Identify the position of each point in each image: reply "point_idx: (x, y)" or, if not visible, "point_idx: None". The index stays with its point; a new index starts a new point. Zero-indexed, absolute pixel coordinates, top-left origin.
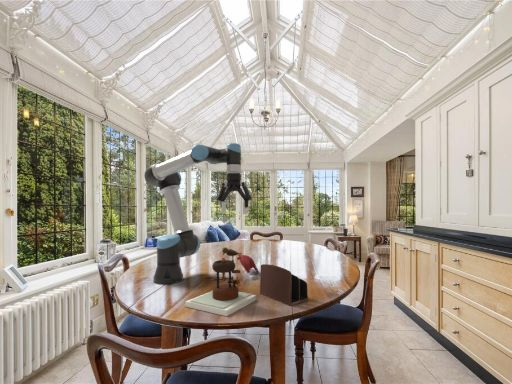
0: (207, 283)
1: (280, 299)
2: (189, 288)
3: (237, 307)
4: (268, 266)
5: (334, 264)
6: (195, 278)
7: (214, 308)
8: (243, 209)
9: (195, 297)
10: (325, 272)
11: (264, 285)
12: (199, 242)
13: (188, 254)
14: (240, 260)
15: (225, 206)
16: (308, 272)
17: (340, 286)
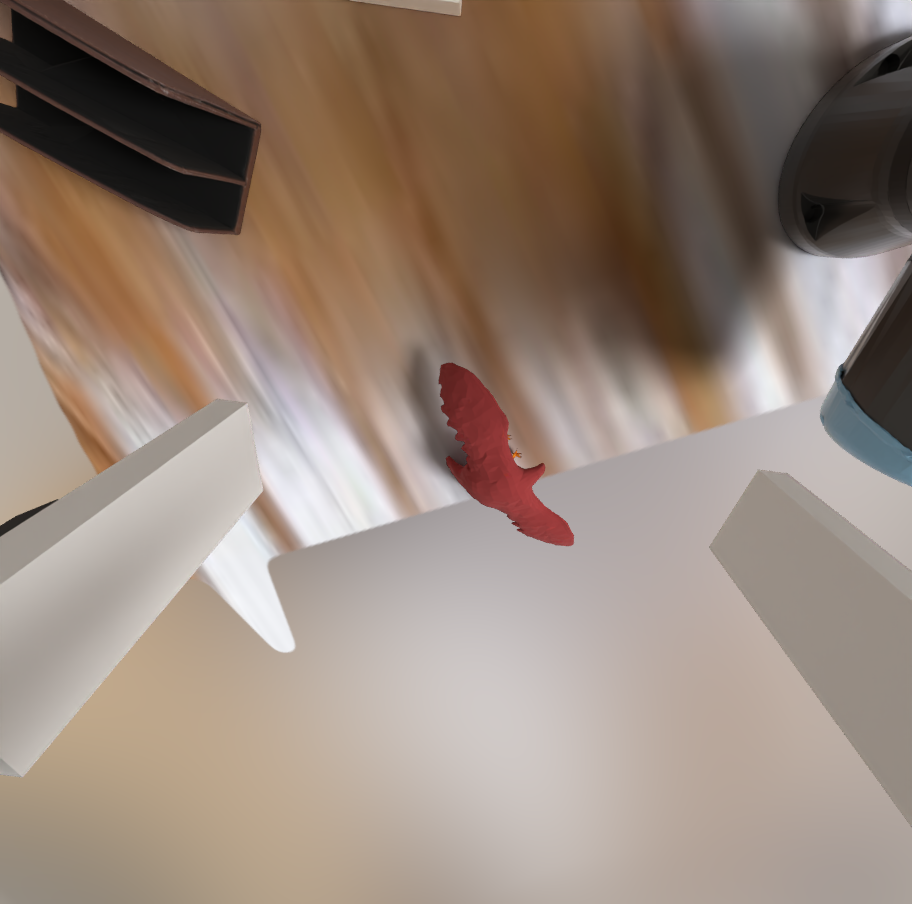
0: (604, 199)
1: (88, 16)
2: (669, 34)
3: None
4: (54, 21)
5: (269, 637)
6: (710, 271)
7: None
8: (163, 448)
9: None
10: (236, 544)
11: (194, 88)
12: (857, 440)
13: (873, 316)
14: (491, 403)
15: (820, 683)
16: (285, 529)
17: (83, 390)
